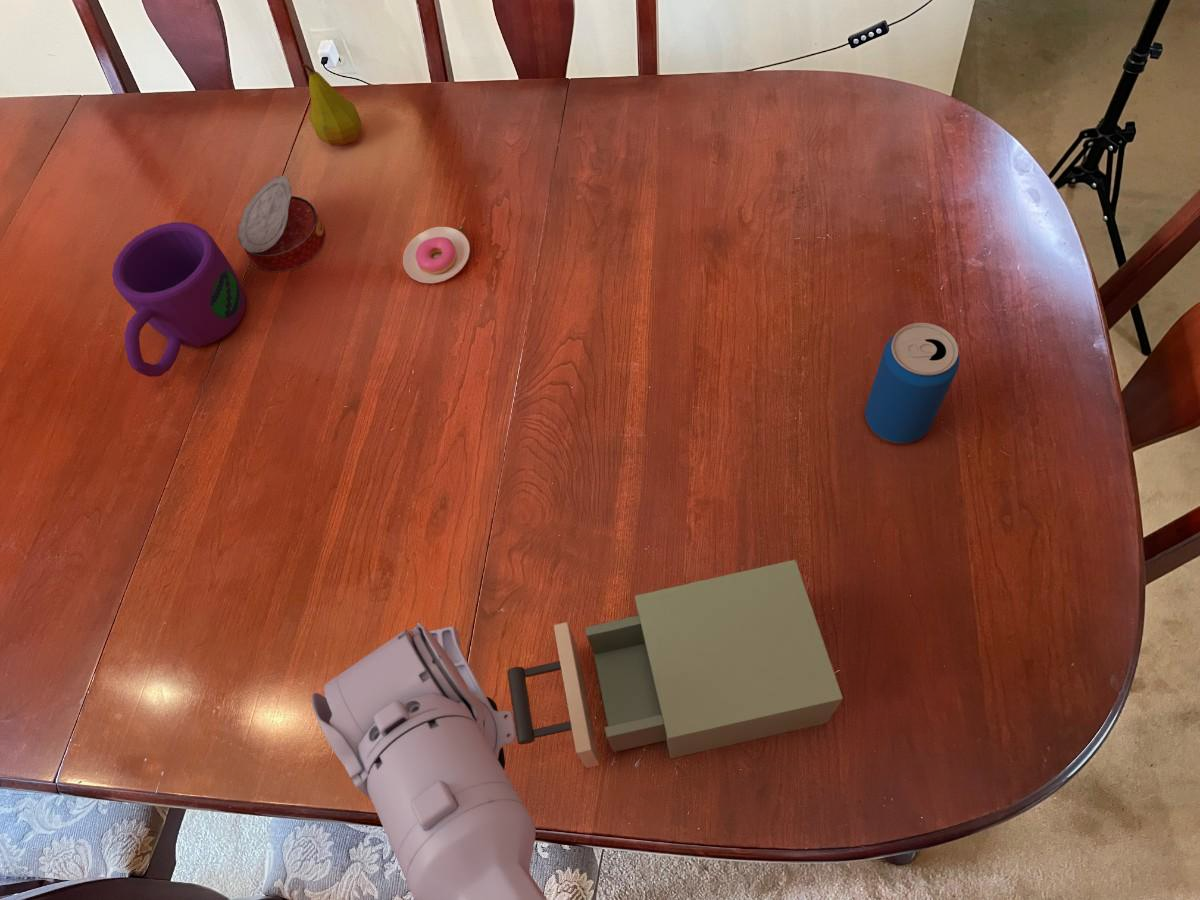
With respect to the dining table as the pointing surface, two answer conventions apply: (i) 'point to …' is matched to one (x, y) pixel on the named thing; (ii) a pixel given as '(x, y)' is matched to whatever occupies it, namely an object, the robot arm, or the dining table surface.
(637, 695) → the drawer
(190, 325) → the mug
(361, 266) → the dining table surface
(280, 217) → the canned food
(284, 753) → the dining table surface
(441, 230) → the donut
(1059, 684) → the dining table surface
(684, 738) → the cabinet
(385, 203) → the dining table surface
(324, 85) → the fruit
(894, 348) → the beverage can
